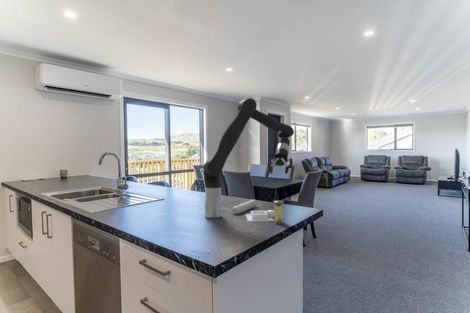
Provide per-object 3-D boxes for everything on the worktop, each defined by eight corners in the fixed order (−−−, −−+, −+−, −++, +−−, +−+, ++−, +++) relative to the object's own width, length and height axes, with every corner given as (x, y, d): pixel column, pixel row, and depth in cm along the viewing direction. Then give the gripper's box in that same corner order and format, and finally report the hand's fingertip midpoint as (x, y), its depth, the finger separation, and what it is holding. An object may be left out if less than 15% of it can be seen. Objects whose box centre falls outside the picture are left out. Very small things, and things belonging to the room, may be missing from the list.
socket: (247, 221, 141) (247, 213, 141) (245, 215, 155) (245, 208, 155) (280, 221, 142) (280, 213, 142) (274, 214, 156) (274, 207, 156)
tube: (238, 209, 155) (258, 201, 176) (231, 205, 158) (252, 198, 179) (236, 217, 156) (256, 208, 177) (229, 213, 159) (249, 205, 180)
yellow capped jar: (274, 224, 136) (274, 202, 136) (272, 221, 142) (272, 200, 141) (285, 224, 136) (284, 202, 136) (282, 221, 142) (282, 200, 142)
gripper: (269, 148, 159) (264, 168, 149) (293, 147, 153) (289, 168, 143) (272, 156, 164) (267, 176, 154) (295, 155, 159) (292, 177, 149)
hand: (278, 173), depth 149 cm, fingers open, 8 cm apart
